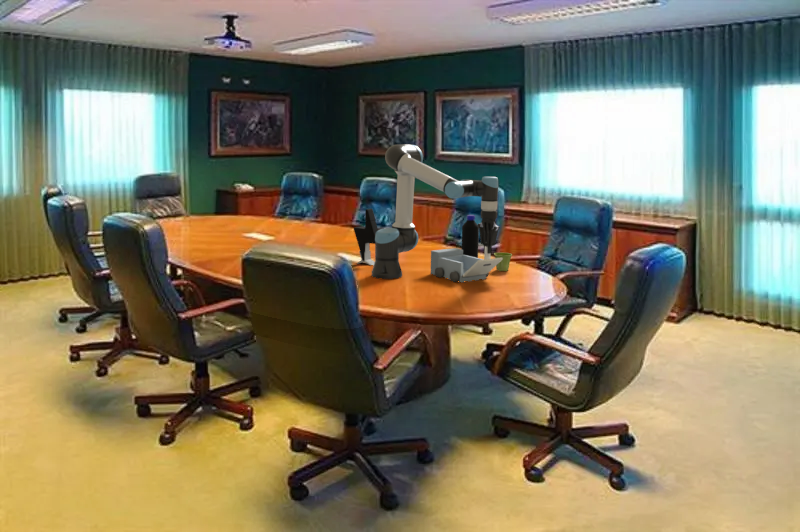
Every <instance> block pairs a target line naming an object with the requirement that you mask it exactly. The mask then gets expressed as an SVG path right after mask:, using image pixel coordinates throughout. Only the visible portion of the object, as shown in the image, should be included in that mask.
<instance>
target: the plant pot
mask: <svg viewBox="0 0 800 532" xmlns="http://www.w3.org/2000/svg"><path fill="white" fill-rule="evenodd" d="M493 255H494V258H503V260H502V261H500V262H499V263H498V264H497V265H496V266H495V267H496V268H495V269H496V271H498V270H499V271H498V272H508V271H509V268H510V263H511V258H512V256H513V254H512V253H509V252H494V253H493Z"/></svg>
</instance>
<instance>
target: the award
mask: <svg viewBox="0 0 800 532" xmlns="http://www.w3.org/2000/svg"><path fill="white" fill-rule="evenodd" d="M364 214H365V219H364V223H365V224H364V226H356V227H355V226H354V227H353V232H354V235H355V239H356V242H357V245H358V247H359V248H358V249H359V252H358V253H359V255H360V259H361V260H360V261H358V262H357V264H358V265H359V264H361V263H365V264H366V265H369V266H371V265H373V266H374V263H375V260H373V259H372V257H371V256H372V253H371V249H370V246H371V245H370V244H372V245H373V244H374V245H375V235H376V232H377V231H378V230H379V228H378V225H377V221H376V217H375V213H374V210H373V208H366V209H365V213H364Z"/></svg>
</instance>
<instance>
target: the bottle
mask: <svg viewBox="0 0 800 532" xmlns="http://www.w3.org/2000/svg"><path fill="white" fill-rule="evenodd" d="M475 220H476V215H474V214H467V215H466V221H465V222H464V224H463V225H462V227H461V249H462V250H463V255H467V256H471V257H476V258H479V241H480V232H479V227H478V223H477V222H476V221H475Z"/></svg>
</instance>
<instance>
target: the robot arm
mask: <svg viewBox="0 0 800 532" xmlns="http://www.w3.org/2000/svg"><path fill="white" fill-rule="evenodd" d="M384 156H385V157H384V158H385V159H384V160H385V162H386V165H387V166H388V167H390V168H391V169H392V170H394V172H395V173H396V175H397V179H396V183H397V184H396V201H395V220H394V221H395V222H393V223H392V225H391V227H387V228H381V229H378V231H377V232H376V235H375V244H374V247H375V248H374V249H375V251H374V253H375V254H374V262H375V263H374V265H373V267H372V270H371V277H372V276H373V277H372V278H374V277H376V278H375V279H379V278H382V279H381V280H394V279H393V278H396V279H400V278H402V277H403V271H402V267H401V265H400V261H399V258H400V257H399V256H400V255H399V254H401V253H405V252H409V251H412V250H413V249H415V248H416V246H417V245H418V243H419V234H418V232H417V231H416V229H415V228H416V225H415V224H414V223H413V217H414V215H413V214H414V213H413V212H414V197H415V194H414V193H415V179H417V180H419V181H422V183H423V182H424V183H425V184H427V185H430V186H431V187H433V188H435V189H437V190H439V191H441V192H443V193H445V195H446V196H447V197H448V198H449V199H455V200H456V199H457V200H458V199H460V198H461V199H462V198H465V197H480V198H481V201H480V205H481V206H480V209H481V211H480V218H481V222H480V223H477V225H478V227H479V241H480V244H481V245H483V253H484V255H483V256H484V257H483V259H484V260H485V259H492V258H491V256H492V249H493V248H492V247H493V246H494V247H495V246H496V242H497V239H498V237H497V236H498V233H499V230H500V229H501V228H500V226H499V225H497V222H496V219H497V218H498V202H499V201H498V197H499V196H498V195H499V194H498V193H499V179H498V177H496V176H482V178H481V180H475V179H474V180H473V179H460V180H458V179H455V178H454V177H452V176H449V175H448V174H445V173H443V172H441V171H439V170H437V169H435V168H433V167H431V166H430V165H427V164H426V163H423V160H424V154H423V152H422V150H421V149H420V147H419V146H418V145H416V144H408V143H406V144H405V143H404V144H403V143H402V144H392V145H391V146H390V147H389V148H387V150H386V151H385V155H384ZM399 277H400V278H399Z"/></svg>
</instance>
